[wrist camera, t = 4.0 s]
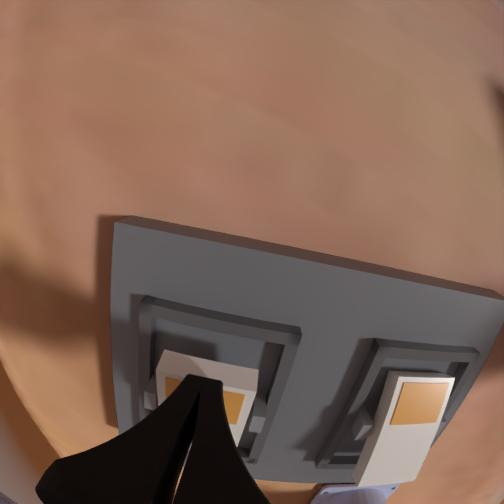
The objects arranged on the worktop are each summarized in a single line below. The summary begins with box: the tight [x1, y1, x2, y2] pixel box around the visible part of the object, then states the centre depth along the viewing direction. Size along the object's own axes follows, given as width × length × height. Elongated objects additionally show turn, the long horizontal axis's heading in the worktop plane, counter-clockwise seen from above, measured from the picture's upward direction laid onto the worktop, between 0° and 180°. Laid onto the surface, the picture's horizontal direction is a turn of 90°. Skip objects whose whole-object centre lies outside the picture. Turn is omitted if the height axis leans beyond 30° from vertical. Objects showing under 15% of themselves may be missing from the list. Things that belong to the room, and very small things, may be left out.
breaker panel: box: [110, 216, 504, 483], centre depth 15 cm, size 16×22×4 cm
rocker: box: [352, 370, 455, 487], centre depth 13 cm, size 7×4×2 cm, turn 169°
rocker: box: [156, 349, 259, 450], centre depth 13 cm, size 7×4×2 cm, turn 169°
